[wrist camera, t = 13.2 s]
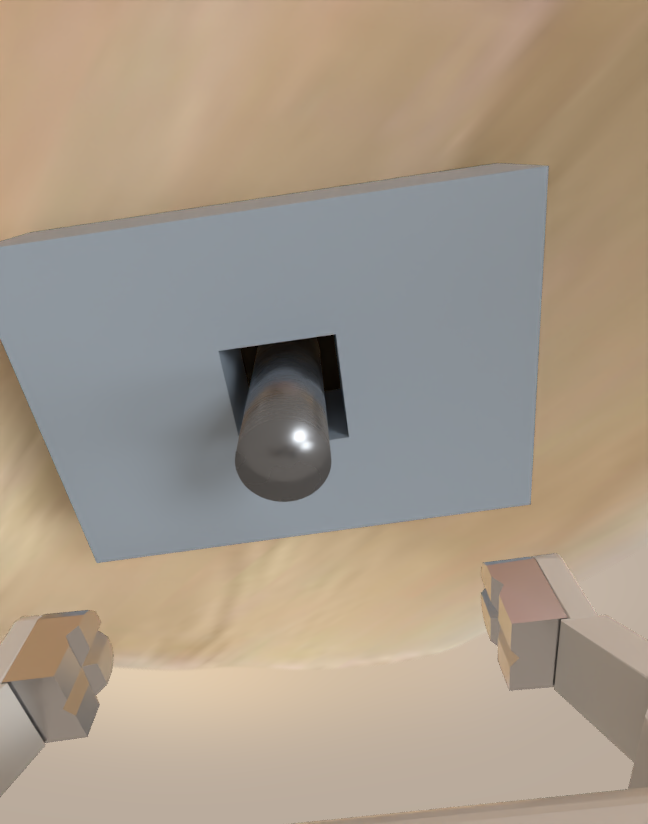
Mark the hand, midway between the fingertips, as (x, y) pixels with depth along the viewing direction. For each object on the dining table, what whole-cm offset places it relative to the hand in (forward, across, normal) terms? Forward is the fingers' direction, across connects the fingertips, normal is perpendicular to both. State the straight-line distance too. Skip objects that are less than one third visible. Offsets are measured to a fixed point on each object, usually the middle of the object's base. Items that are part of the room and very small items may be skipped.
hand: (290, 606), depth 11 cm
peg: (+16, +1, 0) cm, 16 cm away
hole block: (+16, +1, 0) cm, 16 cm away
